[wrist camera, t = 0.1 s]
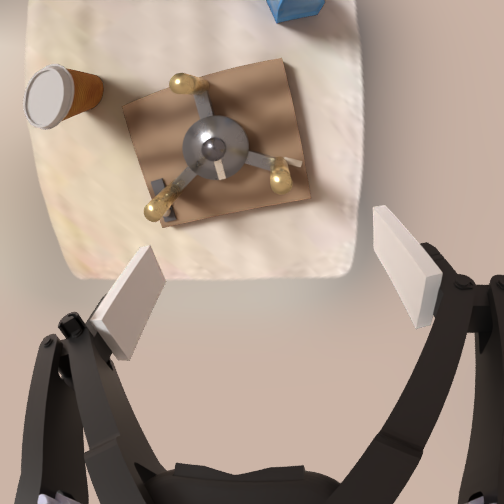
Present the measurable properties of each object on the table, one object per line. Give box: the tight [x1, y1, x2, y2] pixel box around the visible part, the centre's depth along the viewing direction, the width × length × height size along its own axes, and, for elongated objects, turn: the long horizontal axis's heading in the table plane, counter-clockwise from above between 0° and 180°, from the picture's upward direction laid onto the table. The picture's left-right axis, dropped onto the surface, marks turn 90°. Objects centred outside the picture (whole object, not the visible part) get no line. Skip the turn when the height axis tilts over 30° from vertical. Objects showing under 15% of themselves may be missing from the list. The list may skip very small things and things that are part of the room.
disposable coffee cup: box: [23, 64, 104, 130], centre depth 30 cm, size 10×10×12 cm
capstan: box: [144, 73, 293, 222], centre depth 32 cm, size 16×18×10 cm
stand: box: [122, 58, 311, 228], centre depth 38 cm, size 21×24×4 cm
